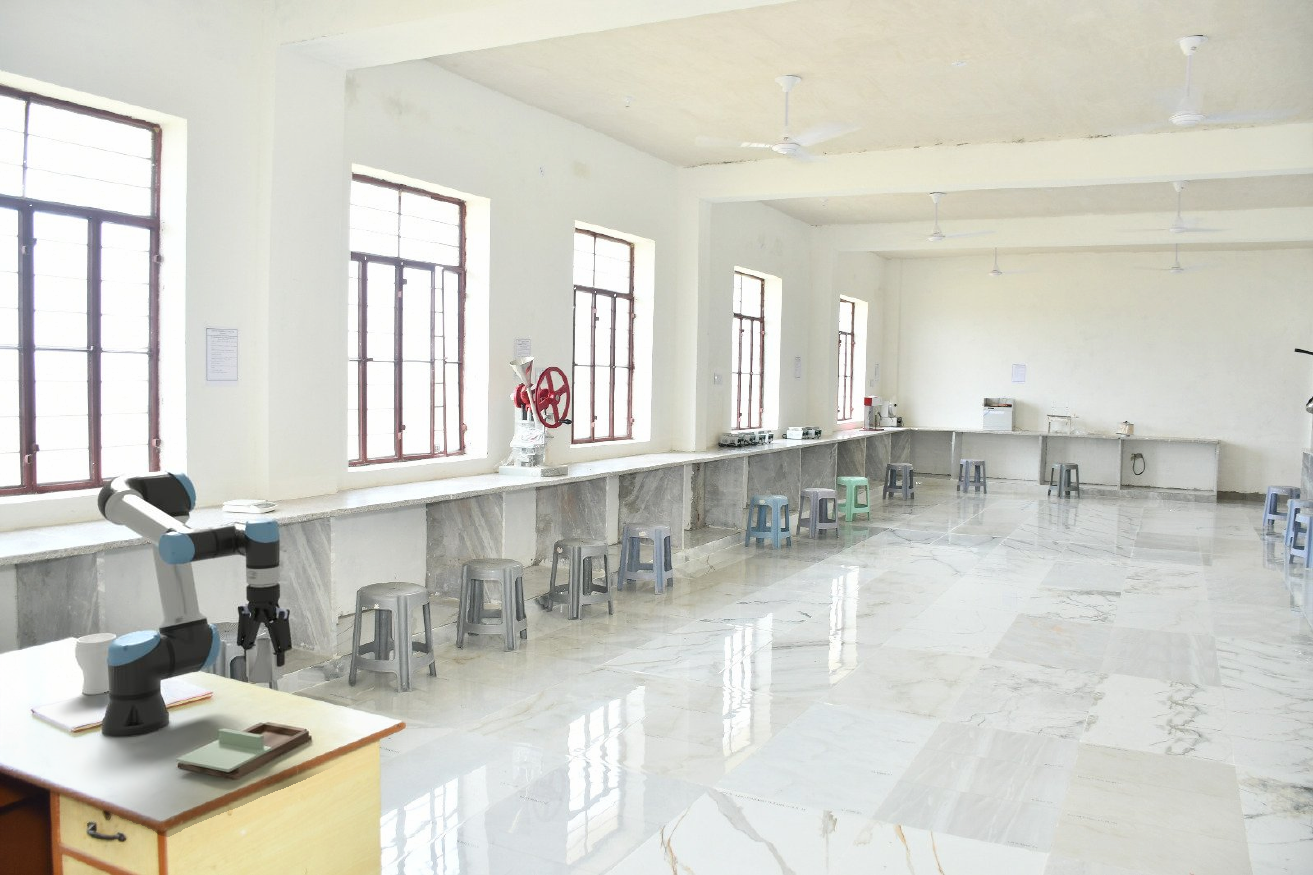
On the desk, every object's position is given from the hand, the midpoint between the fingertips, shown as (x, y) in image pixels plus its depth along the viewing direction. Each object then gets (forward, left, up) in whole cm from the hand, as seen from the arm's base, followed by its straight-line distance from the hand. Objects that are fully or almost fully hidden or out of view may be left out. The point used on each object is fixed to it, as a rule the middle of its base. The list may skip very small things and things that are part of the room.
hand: (264, 677), depth 237 cm
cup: (-71, +13, -17) cm, 74 cm away
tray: (-1, -5, -17) cm, 18 cm away
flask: (0, 0, -1) cm, 1 cm away
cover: (0, -13, -15) cm, 20 cm away
